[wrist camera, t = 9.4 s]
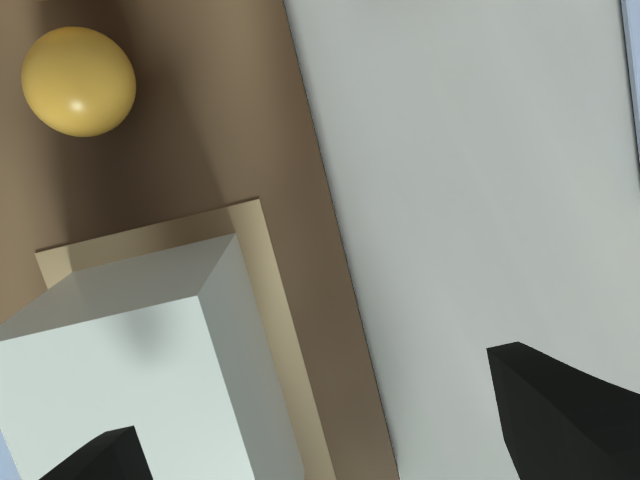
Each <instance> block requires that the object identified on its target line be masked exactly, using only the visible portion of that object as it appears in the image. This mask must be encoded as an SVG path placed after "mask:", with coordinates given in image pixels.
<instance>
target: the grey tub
mask: <svg viewBox="0 0 640 480" xmlns="http://www.w3.org/2000/svg"><path fill="white" fill-rule="evenodd" d="M133 425H134V427H135V430H136V433H137V435H138V438H139V441H140V444H141V447H142V449H143V452H144V455H145V458H146V460H147V463H148V466H149V469H150V472H151V474H152V477H153V480H304V475H305V470H304V466H303V463H302V459H301V456H300V452H299V449H298V445H297V442H296V438H295V435H294V431H293V428H292V425H291V421H290V418H289V414H288V411H287V407H286V404H285V400H284V397H283V393H282V390H281V387H280V383H279V380H278V376H277V373H276V369H275V366H274V362H273V359H272V355H271V352H270V349H269V345H268V342H267V338H266V335H265V331H264V328H263V324H262V321H261V317H260V314H259V310H258V307H257V304H256V300H255V297H254V293H253V290H252V286H251V283H250V279H249V276H248V272H247V269H246V266H245V262H244V259H243V255H242V252H241V248H240V245H239V241H238V238H237V234H236V233H233V234H228V235H224V236H220V237H216V238H212V239H208V240H203V241H199V242H195V243H191V244H187V245H183V246H178V247H174V248H170V249H166V250H162V251H158V252H154V253H149V254H145V255H141V256H137V257H133V258H129V259H124V260H120V261H116V262H112V263H108V264H104V265H99V266H95V267H91V268H87V269H83V270H79V271H74V272H72V273H70V274H69V275H67V276H66V277H65V278H63V279H62V280H61V281H59V282H58V283H57V284H55V285H54V286H52V287H51V288H50V289H48V290H47V291H46V292H44V293H43V294H42V295H40V296H39V297H37V298H36V299H35V300H33V301H32V302H31V303H29V304H28V305H27V306H25V307H24V308H22V309H21V310H20V311H18V312H17V313H16V314H14V315H13V316H12V317H10V318H9V319H7V320H6V321H5V322H3V323H2V324H1V325H0V429H1V432H2V434H3V436H4V439H5V441H6V443H7V446H8V448H9V451H10V453H11V455H12V458H13V460H14V462H15V465H16V467H17V469H18V472H19V474H20V477H21V479H22V480H39V479H40V478H41V477H43V476H44V475H45V474H47V473H48V472H49V471H50V470H52V469H53V468H54V467H56V466H57V465H58V464H60V463H61V462H62V461H63V460H65V459H66V458H67V457H69V456H70V455H71V454H73V453H74V452H75V451H77V450H78V449H79V448H81V447H82V446H84V445H85V444H86V443H88V442H89V441H91V440H92V439H94V438H95V437H97V436H99V435H100V434H102V433H104V432H106V431H110V430H115V429H120V428H124V427H129V426H133Z"/></svg>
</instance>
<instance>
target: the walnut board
mask: <svg viewBox="0 0 640 480" xmlns="http://www.w3.org/2000/svg"><path fill="white" fill-rule="evenodd" d="M63 27H84V28H89V29H92V30H95V31H97V32H100V33H102V34H104V35H105V36H107V37H109V38H110V39H111V40H113V41H114V42H115V43H116V44H117V45H118V46H119V47H120V48H121V49H122V50H123V51H124V53H125V54H126V56H127V57H128V59H129V61H130V63H131V65H132V67H133V70H134V74H135V79H136V95H135V100H134V103H133V106H132V108H131V110H130V112H129V114H128V115H127V116H126V118H125V119H124V120H123V121H122V122H121V123H120V124H119V125H118V126H117V127H115V128H114V129H112V130H110V131H108V132H106V133H104V134H101V135H98V136H92V137H75V136H71V135H67V134H64V133H61V132H58V131H56V130H54V129H52V128H51V127H49V126H48V125H46V124H45V123H44V122H43V121H42V120H40V119H39V118H38V117H37V116H36V114H35V113H34V112H33V111H32V109H31V108H30V106H29V104H28V103H27V100H26V98H25V96H24V92H23V89H22V83H21V71H22V65H23V61H24V58H25V56H26V54H27V52H28V50H29V49H30V47H31V46H32V45H33V44H34V43H35V42H36V41H37V40H38V39H39V38H40V37H41V36H43V35H44V34H46V33H48V32H50V31H52V30H55V29H58V28H63ZM233 233H236V234H237V238H238V241H239V245H240V248H241V252H242V255H243V259H244V262H245V266H246V269H247V272H248V276H249V279H250V283H251V286H252V290H253V293H254V297H255V300H256V304H257V307H258V310H259V314H260V317H261V321H262V324H263V328H264V331H265V335H266V338H267V342H268V345H269V349H270V352H271V355H272V359H273V362H274V366H275V369H276V373H277V376H278V380H279V383H280V387H281V390H282V393H283V397H284V400H285V404H286V407H287V411H288V414H289V418H290V421H291V425H292V428H293V431H294V435H295V438H296V442H297V445H298V449H299V452H300V456H301V459H302V463H303V466H304V470H305V475H304V480H400V478H399V473H398V468H397V464H396V460H395V456H394V452H393V448H392V444H391V440H390V436H389V432H388V427H387V423H386V419H385V415H384V411H383V407H382V403H381V399H380V395H379V391H378V386H377V382H376V378H375V374H374V370H373V366H372V362H371V358H370V354H369V350H368V346H367V341H366V337H365V333H364V329H363V325H362V321H361V317H360V313H359V309H358V305H357V301H356V296H355V292H354V288H353V284H352V280H351V276H350V272H349V268H348V264H347V260H346V255H345V251H344V247H343V243H342V239H341V235H340V231H339V227H338V223H337V219H336V215H335V210H334V206H333V202H332V198H331V194H330V190H329V186H328V182H327V178H326V174H325V170H324V165H323V161H322V157H321V153H320V149H319V145H318V141H317V137H316V133H315V129H314V124H313V120H312V116H311V112H310V108H309V104H308V100H307V96H306V92H305V88H304V84H303V79H302V75H301V71H300V67H299V63H298V59H297V55H296V51H295V47H294V43H293V39H292V34H291V30H290V26H289V22H288V18H287V14H286V10H285V6H284V2H283V0H0V325H1V324H2V323H3V322H5V321H6V320H7V319H9V318H10V317H12V316H13V315H14V314H16V313H17V312H18V311H20V310H21V309H22V308H24V307H25V306H27V305H28V304H29V303H31V302H32V301H33V300H35V299H36V298H37V297H39V296H40V295H42V294H43V293H44V292H46V291H47V290H48V289H50V288H51V287H52V286H54V285H55V284H57V283H58V282H59V281H61V280H62V279H63V278H65V277H66V276H67V275H69V274H70V273H72V272H74V271H79V270H83V269H87V268H91V267H95V266H99V265H104V264H108V263H112V262H116V261H120V260H124V259H129V258H133V257H137V256H141V255H145V254H149V253H154V252H158V251H162V250H166V249H170V248H174V247H178V246H183V245H187V244H191V243H195V242H199V241H203V240H208V239H212V238H216V237H220V236H224V235H228V234H233Z"/></svg>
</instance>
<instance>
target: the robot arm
mask: <svg viewBox="0 0 640 480" xmlns="http://www.w3.org/2000/svg"><path fill="white" fill-rule="evenodd" d="M621 5H622V14H623V22H624V31H625V40H626V48H627V57H628V66H629V74H630V83H631V91H632V100H633V109H634V117H635V126H636V135H637V143H638V152H639V161H640V0H621ZM486 349H487V354H488V359H489V364H490V370H491V375H492V380H493V385H494V390H495V395H496V401H497V406H498V411H499V416H500V421H501V427H502V432H503V437H504V441H505V444H506V446H507V449H508V451H509V453H510V456H511V458H512V461H513V463H514V466H515V468H516V471H517V473H518V475H519V478H520V480H640V394H638V393H635V392H632V391H629V390H627V389H624V388H621V387H619V386H616V385H614V384H611V383H608V382H606V381H603V380H601V379H598V378H596V377H594V376H591V375H589V374H587V373H584V372H582V371H580V370H578V369H575V368H573V367H571V366H569V365H567V364H565V363H563V362H560V361H558V360H556V359H554V358H552V357H550V356H548V355H546V354H544V353H542V352H540V351H538V350H536V349H534V348H532V347H529V346H527V345H525V344H523V343H520V342H514V343H509V344H504V345H500V346H495V347H491V348H486ZM39 480H153V477H152V474H151V472H150V469H149V466H148V463H147V460H146V458H145V455H144V452H143V449H142V447H141V444H140V441H139V438H138V435H137V433H136V430H135V427H134V425H133V426H129V427H124V428H120V429H115V430H110V431H106V432H104V433H102V434H100V435H99V436H97V437H95V438H94V439H92V440H91V441H89V442H88V443H86V444H85V445H84V446H82V447H81V448H79V449H78V450H77V451H75V452H74V453H73V454H71V455H70V456H69V457H67V458H66V459H65V460H63V461H62V462H61V463H60V464H58V465H57V466H56V467H54V468H53V469H52V470H50V471H49V472H48V473H47V474H45V475H44V476H43V477H41V478H40V479H39Z"/></svg>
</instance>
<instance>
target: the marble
mask: <svg viewBox="0 0 640 480" xmlns="http://www.w3.org/2000/svg"><path fill="white" fill-rule="evenodd" d="M21 83H22V89H23V92H24V96H25V98H26V100H27V103H28V104H29V106H30V108H31V109H32V111H33V112H34V113H35V114H36V116H37V117H38V118H39V119H40V120H42V121H43V122H44V123H45V124H46V125H48V126H49V127H51V128H52V129H54V130H56V131H58V132H61V133H64V134H67V135H71V136H75V137H92V136H98V135H101V134H104V133H106V132H108V131H110V130H112V129H114V128H115V127H117V126H118V125H119V124H120V123H121V122H122V121H123V120H124V119H125V118H126V116H127V115H128V114H129V112H130V110H131V108H132V106H133V103H134V100H135V95H136V79H135V74H134V70H133V67H132V65H131V63H130V61H129V59H128V57H127V56H126V54H125V53H124V51H123V50H122V49H121V48H120V47H119V46H118V45H117V44H116V43H115V42H114V41H113V40H111V39H110V38H109V37H107V36H105V35H104V34H102V33H100V32H97V31H95V30H92V29H89V28H84V27H63V28H58V29H55V30H52V31H50V32H48V33H46V34H44V35H43V36H41V37H40V38H39V39H38V40H37V41H36V42H35V43H34V44H33V45H32V46H31V47H30V49H29V50H28V52H27V54H26V56H25V58H24V61H23V65H22V71H21Z"/></svg>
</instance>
